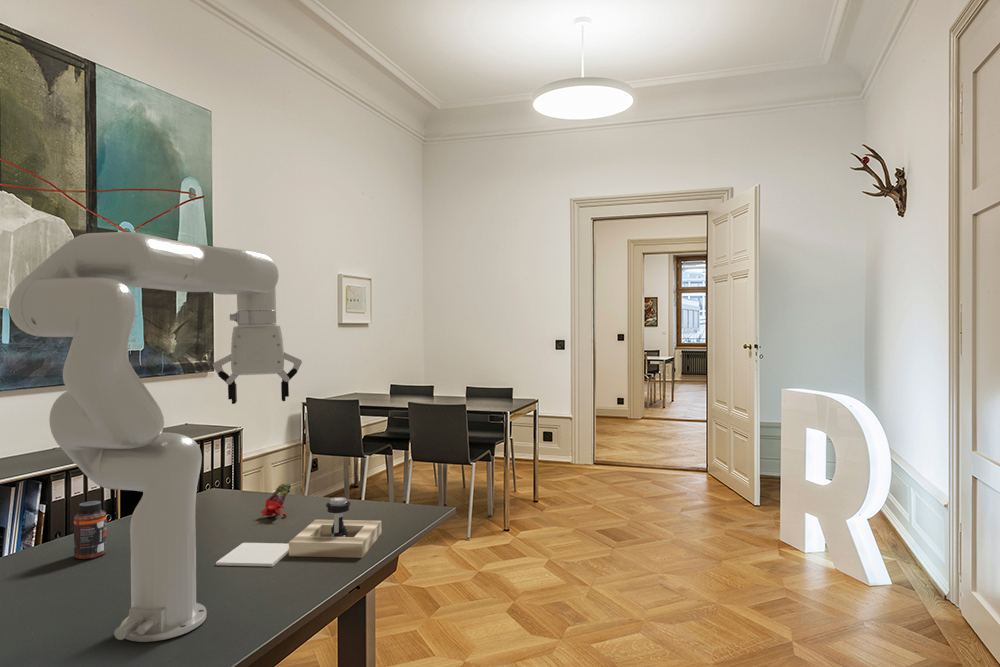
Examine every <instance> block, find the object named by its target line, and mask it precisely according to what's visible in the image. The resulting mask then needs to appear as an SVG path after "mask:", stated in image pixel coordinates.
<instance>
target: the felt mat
mask: <svg viewBox="0 0 1000 667" xmlns="http://www.w3.org/2000/svg"><path fill="white" fill-rule="evenodd" d="M287 554H289V543H281V542H280V543H279V542H277V543H276V542H273V543H271V542H270V543H269V542H242V543H240V544H239V545H238V546H237V547H235V548H234V549H232V550H231V551H229V552H228V553H227V554H225V555H224V556H222V557H220V558H219V560H217V561H216V562H215V566H228V567H229V566H233V567H235V566H236V567H237V566H238V567H271V568H272V567H273V566H275V565H276V564H277V563H278V562H279V561H280V560H282V559H283V558H284V557H285V556H286V555H287Z"/></svg>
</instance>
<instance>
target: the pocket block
mask: <svg viewBox="0 0 1000 667" xmlns="http://www.w3.org/2000/svg"><path fill="white" fill-rule="evenodd" d="M343 522H344V526H345V529H346V530H347V537H331V536H332V533H331V527H332V526H333V523H334V519H314V520H313V521H312V522H311V523H310V524H308V525H307V526H306V527H305V528H304V529H302V530H301V531H300V532H299V533H298V534H296V535H295V536H294V537H293V538H292V539H291V540H289V542H288V544H289V552H288V556H289V557H308V558H309V557H310V558H311V557H314V558H322V557H323V558H352V559H353V558H357V559H359V558H360V559H361V558H364V556H366V554H367V552H368V551H369V550H370V549H371V547H372V546H373V545H374V544H375V542H376V541H377V540H378V539H379V537H380V536H381V535H382V520H364V519H362V520H360V519H359V520H355V519H354V520H353V519H343Z"/></svg>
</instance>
